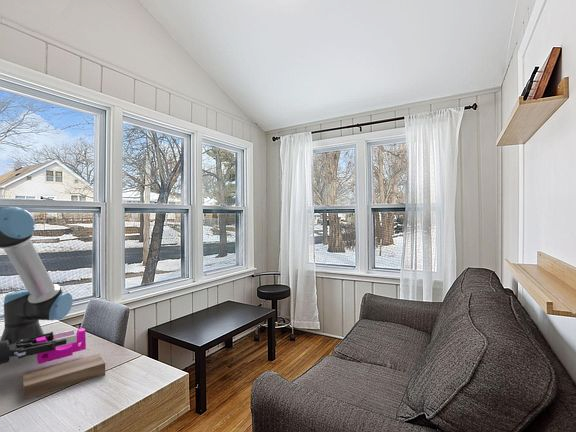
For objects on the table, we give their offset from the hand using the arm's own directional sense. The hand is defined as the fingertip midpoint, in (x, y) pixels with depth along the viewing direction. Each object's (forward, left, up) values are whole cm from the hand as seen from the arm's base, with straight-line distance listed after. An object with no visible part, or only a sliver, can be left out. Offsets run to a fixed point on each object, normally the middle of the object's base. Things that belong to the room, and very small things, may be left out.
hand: (75, 335), depth 122 cm
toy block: (0, -4, -6) cm, 8 cm away
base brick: (+16, -5, -9) cm, 19 cm away
